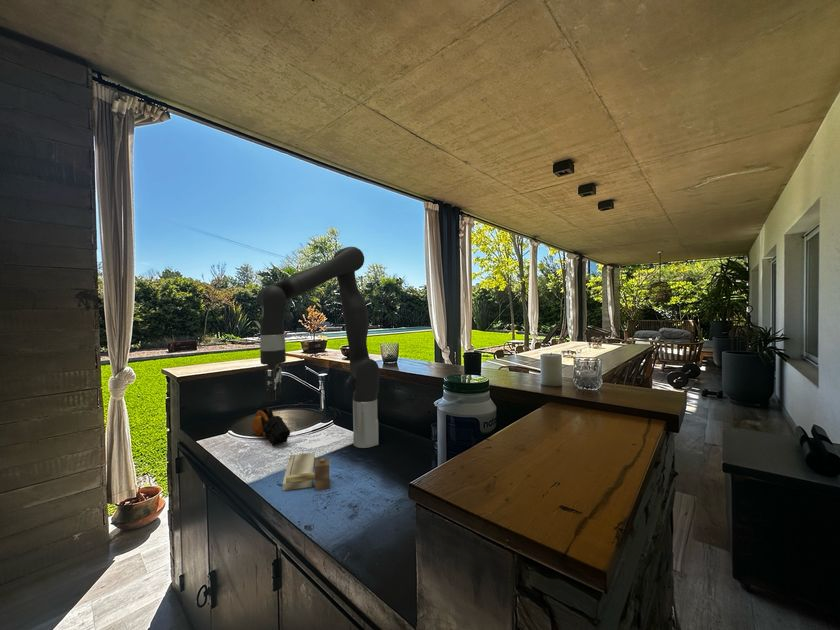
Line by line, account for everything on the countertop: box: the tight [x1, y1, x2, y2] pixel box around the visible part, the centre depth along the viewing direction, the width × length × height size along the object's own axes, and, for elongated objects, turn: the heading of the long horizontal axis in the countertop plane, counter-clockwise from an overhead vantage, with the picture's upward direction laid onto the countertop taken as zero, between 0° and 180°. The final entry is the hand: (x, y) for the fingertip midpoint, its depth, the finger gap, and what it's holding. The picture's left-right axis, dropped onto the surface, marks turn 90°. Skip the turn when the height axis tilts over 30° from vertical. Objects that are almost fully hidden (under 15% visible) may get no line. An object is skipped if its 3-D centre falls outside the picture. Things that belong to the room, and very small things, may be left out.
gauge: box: [286, 457, 330, 492], centre depth 100 cm, size 12×5×8 cm, turn 105°
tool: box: [251, 407, 291, 447], centre depth 137 cm, size 8×23×15 cm, turn 46°
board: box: [282, 451, 316, 492], centre depth 109 cm, size 8×20×2 cm, turn 15°
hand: (274, 398), depth 111 cm, fingers open, 8 cm apart
